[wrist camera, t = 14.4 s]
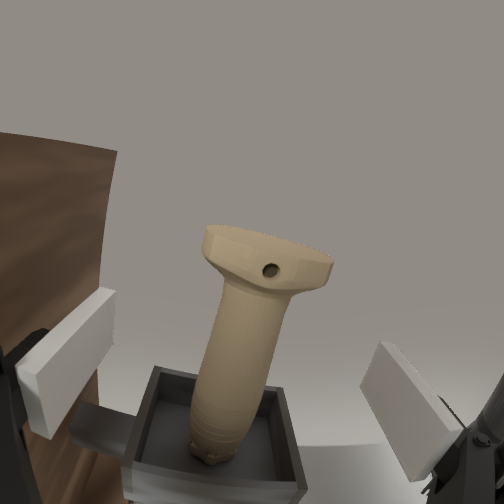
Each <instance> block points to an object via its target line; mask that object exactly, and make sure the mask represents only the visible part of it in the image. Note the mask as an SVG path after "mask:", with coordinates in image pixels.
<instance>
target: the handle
mask: <svg viewBox="0 0 504 504" xmlns="http://www.w3.org/2000/svg"><path fill="white" fill-rule="evenodd" d="M202 254H203V255H204V257H205V259H206V260H207V261H208V262H209V263H210V264H211V265H212V266H213V267H214V268H216V269H217V270H218V271H219V272H220V273H221V274H222V275H223V276H224V278H225V280H224V287H223V293H222V298H221V302H220V305H219V308H218V312H217V315H216V318H215V322H214V326H213V329H212V332H211V336H210V339H209V342H208V345H207V349H206V352H205V355H204V358H203V361H202V364H201V367H200V371H199V374H198V377H197V380H196V384H195V388H194V393H193V397H192V402H191V410H190V435H191V440H189V451H190V453H191V454H192V455H194V456H197V457H199V458H200V459H202V460H203V461H204V462H205V464H208V465H215V464H216V463H218V462H222V461H230V460H231V459H232V458H233V457H234V455H235V454H236V452H237V450H238V449H236V448H237V447H238V446H239V445H240V443H241V442H242V440H243V439H244V437H245V435H246V434H247V432H248V430H249V428H250V426H251V424H252V422H253V420H254V418H255V415H256V413H257V410H258V407H259V405H260V402H261V399H262V395H263V391H264V388H265V384H266V380H267V376H268V373H269V369H270V365H271V361H272V358H273V353H274V350H275V347H276V343H277V340H278V336H279V333H280V329H281V325H282V321H283V318H284V314H285V312H286V310H287V307H288V305H289V302H290V300H291V298H292V296H294V295H296V294H298V293H302V292H305V291H311V290H315V289H318V288H321V287H323V286H324V285H325V284H326V283H327V281H328V279H329V276H330V273H331V270H332V267H333V264H334V260H333V259H332V258H331V257H330V256H328V255H327V254H325V253H323V252H321V251H319V250H317V249H314V248H311V247H308V246H305V245H302V244H299V243H296V242H293V241H290V240H286V239H283V238H279V237H275V236H271V235H268V234H264V233H260V232H256V231H252V230H247V229H242V228H237V227H231V226H225V225H220V224H211V225H208V226H207V227H206V230H205V235H204V239H203V244H202Z"/></svg>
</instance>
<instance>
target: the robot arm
mask: <svg viewBox="0 0 504 504" xmlns="http://www.w3.org/2000/svg"><path fill="white" fill-rule="evenodd" d="M115 295H116V291H114V290H110V289H107V288H103V287H100V288H98V289H97V290H96V291H95V292H94V293H93V294H91V295H90V296H89V297H88V298H87V299H86V300H85V301H83V302H82V303H81V304H80V305H79V306H78V307H77V308H75V309H74V310H73V311H72V312H71V313H70V314H69V315H68V316H67V317H65V318H64V319H63V320H62V321H61V322H60V323H59V324H58V325H57V326H56V327H54V328H53V329H52V330H51V331H50V330H48V329H45V328H41V329H39V330H36V331H34V332H32V333H30V334H29V335H28V336H27V337H26V338H25V339H24V340H22V341H21V342H20V343H19V344H18V346H16V347H15V348H13V349H12V350H11V351H10V352H9V353H8V354H7V355H6V356H5V357H4V355H3V350H2V347H1V346H0V504H43V502H42V499H41V496H40V493H39V489H38V486H37V483H36V479H35V476H34V472H33V469H32V465H31V461H30V457H29V452H28V448H27V443H26V439H25V434H24V430H23V425H24V424H25V423H26V421H27V420H28V422H29V425H30V428H31V431H33V432H35V433H37V434H39V435H41V436H43V437H45V438H47V439H50V440H51V439H52V437H53V435H54V434H55V432H56V430H57V429H58V427H59V426H60V424H61V422H62V421H63V419H64V417H65V416H66V414H67V413H68V411H69V410H70V408H71V406H72V405H73V403H74V402H75V400H76V399H77V397H78V395H79V394H80V392H81V391H82V389H83V388H84V386H85V385H86V383H87V382H88V380H89V379H90V377H91V376H92V374H93V373H94V371H95V370H96V368H97V367H98V365H99V364H100V362H101V361H102V359H103V358H104V356H105V355H106V353H107V352H108V351H109V349H110V348H111V346H112V345H113V330H114V309H115ZM360 388H361V390H362V392H363V394H364V396H365V398H366V399H367V401H368V403H369V405H370V407H371V409H372V411H373V412H374V414H375V416H376V418H377V420H378V422H379V424H380V426H381V427H382V429H383V431H384V433H385V435H386V437H387V439H388V441H389V443H390V445H391V447H392V449H393V450H394V452H395V454H396V456H397V458H398V460H399V462H400V464H401V466H402V468H403V470H404V472H405V474H406V476H407V478H408V480H409V482H415V481H420V480H424V479H425V478H426V477H427V476H428V475H429V474H430V473H431V471H432V474H433V479H432V480H431V482H430V483H429V484H428V485H427V486H426V487H425V488H424V489H423V491H422V492H421V494H424V493H425V492H426V491H427V490H428V489H430V490H429V493H428V494H427V496H428V499H427V502H426V504H504V374H503V376H502V378H501V379H500V381H499V383H498V385H497V386H496V388H495V390H494V392H493V393H492V395H491V397H490V398H489V400H488V401H487V403H486V405H485V406H484V408H483V410H482V411H481V413H480V414H479V416H478V417H477V419H476V420H475V421H474V422H473V423H471V424H470V425H469V426H468V427H467V428H466V427H465V426H464V424H463V423H462V422H461V421H460V419H459V418H458V417H457V416H456V414H454V412H453V411H452V410H451V408H449V406H448V405H447V404H446V402H445V401H444V400H443V399H442V398H441V397H439V396H438V395H437V394H436V393H435V392H434V391H433V390H432V389H431V387H430V386H429V385H428V384H427V383H426V381H425V380H424V379H423V378H422V377H421V375H420V374H419V373H418V372H417V371H416V369H415V368H414V367H413V366H412V365H411V363H410V362H409V361H408V360H407V359H406V358H405V357H404V355H403V354H402V353H401V352H400V351H399V349H398V348H397V347H396V346H395V345H394V344H393V343H392V342H384V341H380V342H379V344H378V347H377V350H376V352H375V354H374V356H373V359H372V361H371V363H370V365H369V368H368V370H367V372H366V374H365V376H364V379H363V381H362V383H361V385H360Z"/></svg>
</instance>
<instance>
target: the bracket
mask: <svg viewBox="0 0 504 504" xmlns="http://www.w3.org/2000/svg"><path fill="white" fill-rule="evenodd" d="M116 156H117V151H114V150H109V149H104V148H99V147H93V146H88V145H82V144H76V143H71V142H65V141H59V140H52V139H45V138H39V137H32V136H25V135H17V134H10V133H9V134H8V133H1V132H0V346H1V347H2V350H3V355H4V357H5V356H6V355H7V354H8V353H9V352H10V351H11V350H12V349H13V348H15V347H16V346H18V344H19V343H20V342H21V341H22V340H24V339H25V338H26V337H27V336H28V335H29V334H30V333H32V332H34V331H36V330H39V329H41V328H45V329H48V330H50V331H51V330H52V329H53V328H54V327H56V326H57V325H58V324H59V323H60V322H61V321H62V320H63V319H64V318H65V317H67V316H68V315H69V314H70V313H71V312H72V311H73V310H74V309H75V308H77V307H78V306H79V305H80V304H81V303H82V302H83V301H85V300H86V299H87V298H88V297H89V296H90V295H91V294H93V293H94V292H95V291H96V290H97V289H98V288H99V275H100V263H101V252H102V243H103V235H104V226H105V219H106V212H107V205H108V199H109V193H110V187H111V181H112V176H113V171H114V165H115V161H116ZM197 377H198V375H196V374H191V373H185V372H180V371H176V370H172V369H167V368H163V367H158V366H154V368H153V371H152V374H151V377H150V379H149V382H148V385H147V388H146V391H145V394H144V396H143V399H142V402H141V405H140V408H139V411H138V413H137V416H133V415H129V414H125V413H122V412H118V411H115V410H111V409H108V408H105V407H102V406H99V397H98V379H97V368H96V370H95V371H94V373H93V374H92V376H91V377H90V379H89V380H88V382H87V383H86V385H85V386H84V388H83V389H82V391H81V392H80V394H79V395H78V397H77V399H76V400H75V402H74V403H73V405H72V406H71V408H70V410H69V411H68V413H67V414H66V416H65V417H64V419H63V421H62V422H61V424H60V426H59V427H58V429H57V430H56V432H55V434H54V435H53V437H52V439H51V440H50V439H47V438H45V437H43V436H41V435H39V434H37V433H35V432H33V431H31V428H30V425H29V422H28V420H27V421H26V423H25V424H24V425H23V430H24V434H25V439H26V443H27V448H28V452H29V457H30V461H31V465H32V469H33V472H34V476H35V479H36V483H37V486H38V489H39V493H40V496H41V499H42V502H43V504H129V500H132V501H136V502H140V503H144V504H298V503H299V501H300V500H301V498H302V497H303V496H304V494H305V493H306V491H307V490H308V487H307V483H306V479H305V475H304V471H303V467H302V463H301V459H300V455H299V451H298V447H297V443H296V439H295V435H294V431H293V427H292V423H291V418H290V415H289V410H288V406H287V402H286V398H285V394H284V390H283V388H281V387H271V386H265V388H264V391H263V395H262V399H261V402H260V405H259V407H258V410H257V413H256V415H255V418H254V420H253V422H252V424H251V426H250V428H249V430H248V432H247V434H246V435H245V437H244V439H243V440H242V442H241V443H240V445H239V446H238V447H237V448H236V449H238V450H237V452H236V454H235V455H234V457H233V458H232V459H231V460H230V461H222V462H218V463H216V464H215V465H208V464H205V462H204V461H203V460H202V459H200V458H199V457H197V456H194V455H192V454H191V453H190V451H189V440H191V435H190V410H191V402H192V397H193V393H194V388H195V384H196V380H197Z"/></svg>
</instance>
